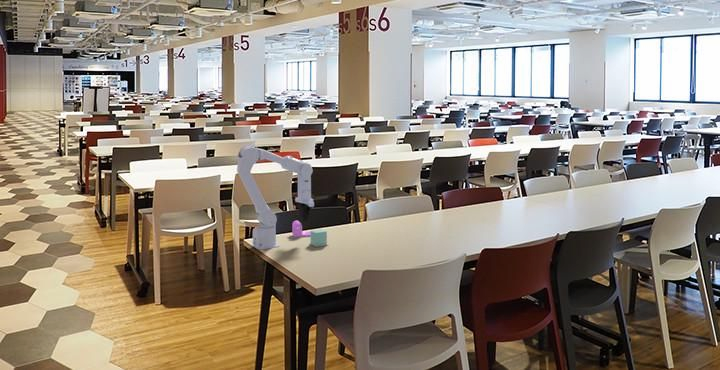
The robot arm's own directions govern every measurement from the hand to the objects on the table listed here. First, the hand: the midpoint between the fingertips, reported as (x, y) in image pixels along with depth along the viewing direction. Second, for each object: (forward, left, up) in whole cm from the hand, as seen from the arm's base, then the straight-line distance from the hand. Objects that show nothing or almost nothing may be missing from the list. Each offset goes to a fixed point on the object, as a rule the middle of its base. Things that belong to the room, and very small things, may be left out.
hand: (304, 220), depth 277 cm
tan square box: (+2, -8, -10) cm, 13 cm away
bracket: (+7, +11, -10) cm, 17 cm away
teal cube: (+3, -8, -10) cm, 13 cm away
